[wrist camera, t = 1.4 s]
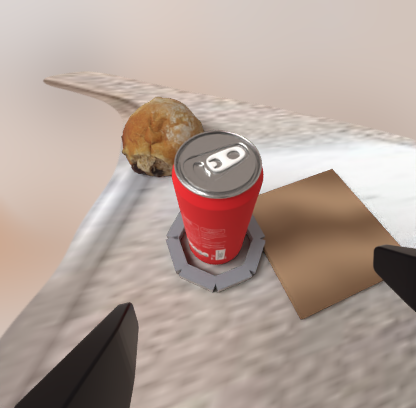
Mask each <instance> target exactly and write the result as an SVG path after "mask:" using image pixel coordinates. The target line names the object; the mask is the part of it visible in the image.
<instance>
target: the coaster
mask: <svg viewBox="0 0 416 408" xmlns="http://www.w3.org/2000/svg"><path fill="white" fill-rule="evenodd" d="M252 214H253V216H254V217H255V219H256V221H257V223H258V225H259V226H260V228H261V230H262V232H263V233H264V235H265V237H264V238H263V240H265V244H264V247H263V251H264V253H265V255H266V256H267V258H268V260H269V262H270V264H271V266H272V267H273V269H274V271H275V273H276V275H277V277H278V279H279V280H280V282H281V284H282V286H283V288H284V290H285V291H286V293H287V295H288V297H289V299H290V301H291V303H292V304H293V306H294V308H295V310H296V312H297V314H298V315H299V317H300V319H304V318H306V317H308V316H310V315H312V314H315V313H317V312H319V311H321V310H323V309H325V308H327V307H329V306H331V305H333V304H335V303H337V302H339V301H341V300H343V299H346V298H348V297H350V296H352V295H354V294H356V293H358V292H360V291H362V290H364V289H366V288H368V287H370V286H372V285H375V284H377V283H379V282H381V281H383V280H382V279H381V278H380V277H379V276H378V275H377V273H376V272H375V271H374V268H373V253H374V248H375V247H377V246H381V245H386V244H387V245H394V246H400V245H399V244H398V243H397V242H396V241H395V239H394V238H393V237H392V236H391V235H390V234H389V233H388V232H387V230H386V229H385V228H384V227H383V226H382V225H381V224H380V222H379V221H378V220H377V219H376V218H375V217H374V216H373V215H372V213H371V212H370V211H369V210H368V209H367V208H366V207H365V205H364V204H363V203H362V202H361V201H360V200H359V199H358V198H357V196H356V195H355V194H354V193H353V192H352V191H351V190H350V189H349V187H348V186H347V185H346V184H345V183H344V182H343V181H342V179H341V178H340V177H339V176H338V175H337V174H336V173H335V172H334V170H333V169H331V170H328V171H325V172H322V173H319V174H317V175H314V176H311V177H308V178H305V179H302V180H300V181H297V182H294V183H291V184H288V185H286V186H283V187H280V188H277V189H274V190H272V191H269V192H266V193H263V194H260V195H258V198H257V201H256V204H255V207H254V210H253V213H252Z"/></svg>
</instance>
